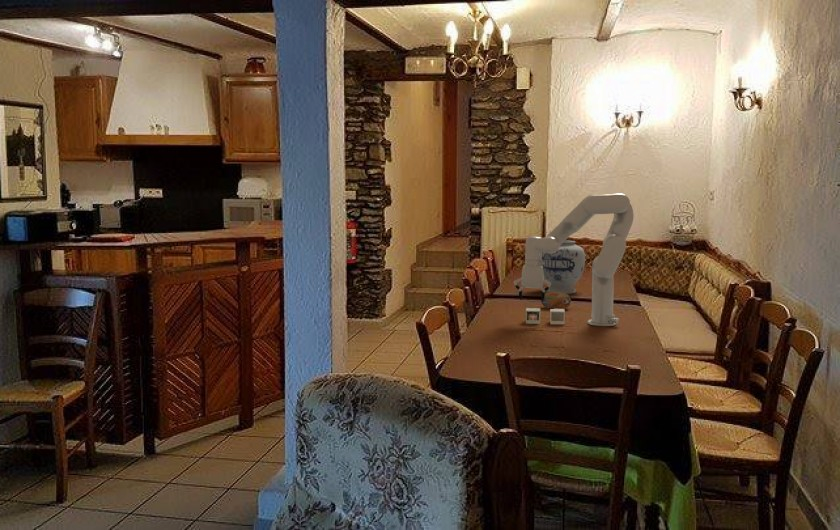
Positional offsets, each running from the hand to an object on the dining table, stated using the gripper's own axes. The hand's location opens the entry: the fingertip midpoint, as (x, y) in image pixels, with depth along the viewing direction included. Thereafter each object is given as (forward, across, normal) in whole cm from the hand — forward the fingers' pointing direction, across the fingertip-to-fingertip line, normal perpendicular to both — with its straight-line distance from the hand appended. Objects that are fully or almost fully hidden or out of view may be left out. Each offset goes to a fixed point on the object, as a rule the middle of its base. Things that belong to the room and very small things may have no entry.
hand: (531, 300), depth 341 cm
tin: (+10, -12, -38) cm, 41 cm away
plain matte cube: (+10, -1, 0) cm, 10 cm away
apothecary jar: (+10, -15, -93) cm, 95 cm away
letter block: (+10, -1, 0) cm, 11 cm away
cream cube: (+10, -12, 0) cm, 16 cm away
